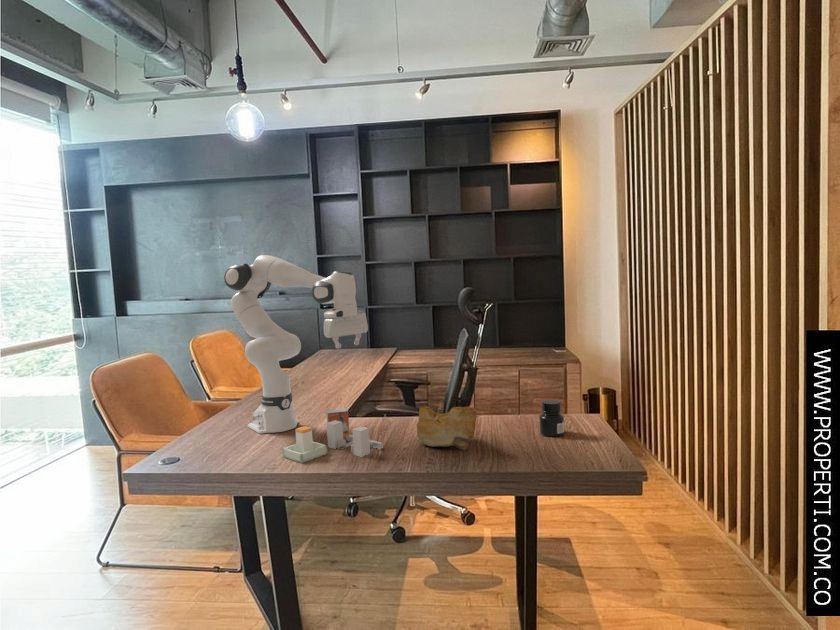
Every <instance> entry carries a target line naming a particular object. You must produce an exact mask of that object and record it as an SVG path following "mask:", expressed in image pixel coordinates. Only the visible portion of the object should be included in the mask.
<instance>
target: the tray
mask: <svg viewBox="0 0 840 630" xmlns="http://www.w3.org/2000/svg"><path fill="white" fill-rule="evenodd" d="M322 455H323V456H325V455H328V444H327V445H326V444H324V443H320V442H316V441H314V440H313V450H310V451H307V452H304V453H299V452H297V447H296V443H294V444H292V445H288V446H286V447H283V448H282V458H285V459H288V460H290V459H291V461H294V462H296V463H299V464H304V463H307V462H310V461H312V460H314V458H315V459H317V458H319V457H322Z"/></svg>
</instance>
